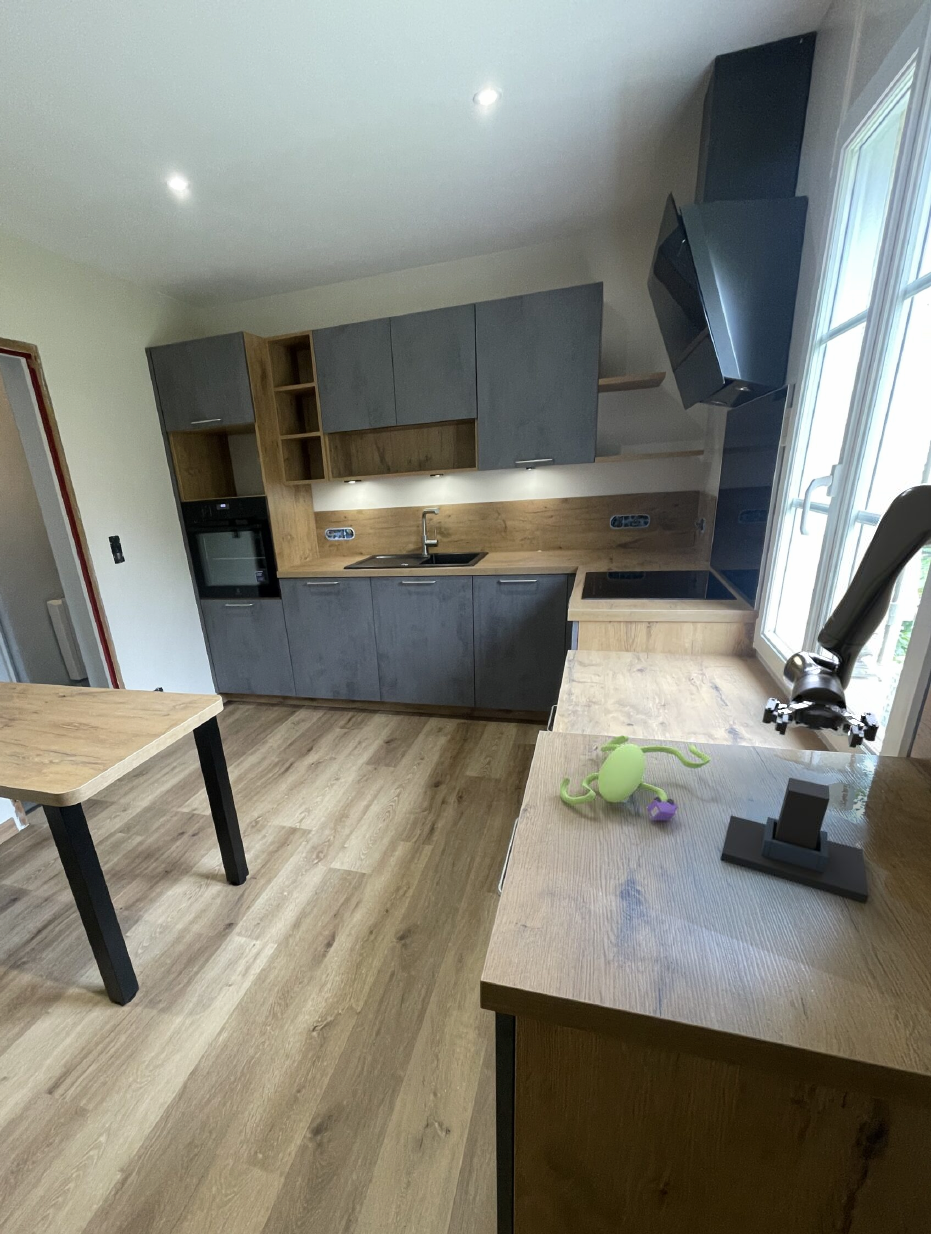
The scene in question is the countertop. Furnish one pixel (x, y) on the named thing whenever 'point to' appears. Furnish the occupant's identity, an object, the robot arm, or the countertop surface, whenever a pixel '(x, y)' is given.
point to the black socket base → (797, 858)
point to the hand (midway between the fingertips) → (818, 735)
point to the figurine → (630, 776)
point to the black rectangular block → (802, 813)
